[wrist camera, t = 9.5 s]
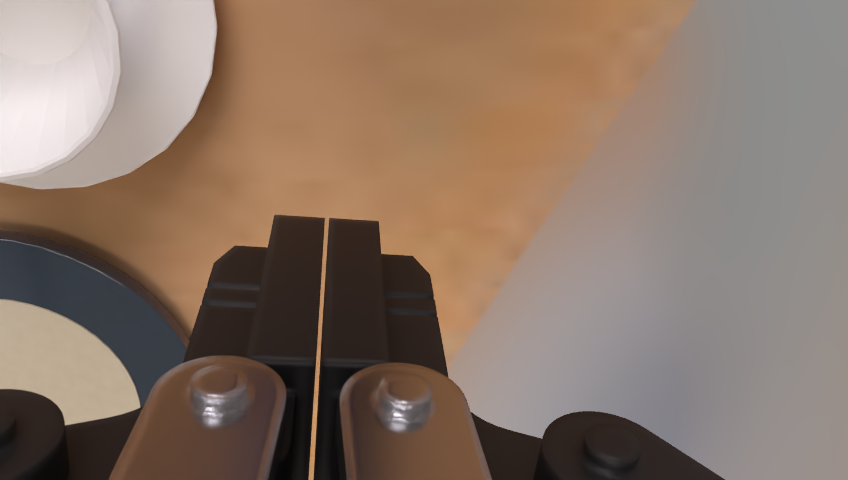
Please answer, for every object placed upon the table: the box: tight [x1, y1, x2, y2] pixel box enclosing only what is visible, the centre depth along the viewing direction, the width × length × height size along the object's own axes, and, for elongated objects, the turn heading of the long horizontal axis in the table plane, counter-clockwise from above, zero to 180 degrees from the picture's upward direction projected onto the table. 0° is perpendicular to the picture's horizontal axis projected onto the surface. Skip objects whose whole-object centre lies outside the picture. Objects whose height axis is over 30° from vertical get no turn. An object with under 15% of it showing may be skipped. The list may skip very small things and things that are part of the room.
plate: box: [0, 230, 189, 425], centre depth 31 cm, size 15×15×1 cm
